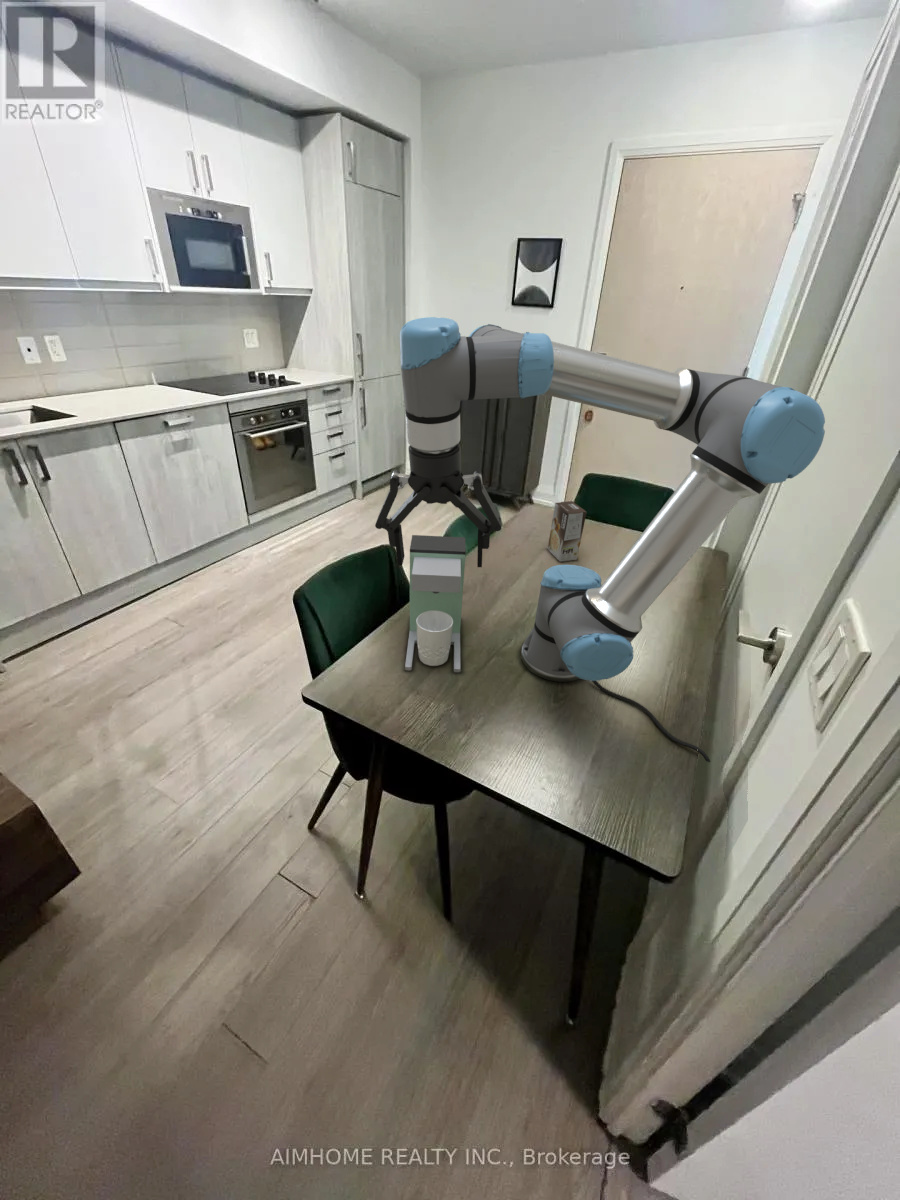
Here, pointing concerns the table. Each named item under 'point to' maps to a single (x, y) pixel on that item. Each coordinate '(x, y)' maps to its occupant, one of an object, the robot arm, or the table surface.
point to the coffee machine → (436, 585)
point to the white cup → (434, 637)
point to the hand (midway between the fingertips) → (440, 561)
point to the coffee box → (566, 530)
